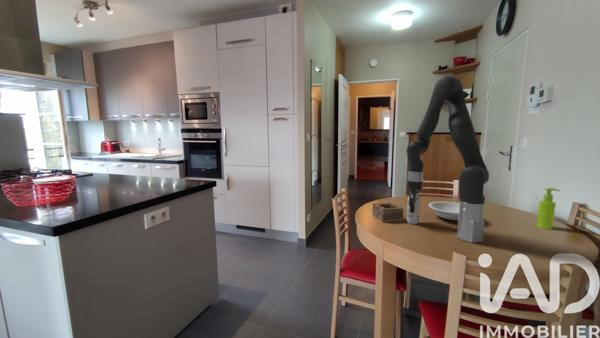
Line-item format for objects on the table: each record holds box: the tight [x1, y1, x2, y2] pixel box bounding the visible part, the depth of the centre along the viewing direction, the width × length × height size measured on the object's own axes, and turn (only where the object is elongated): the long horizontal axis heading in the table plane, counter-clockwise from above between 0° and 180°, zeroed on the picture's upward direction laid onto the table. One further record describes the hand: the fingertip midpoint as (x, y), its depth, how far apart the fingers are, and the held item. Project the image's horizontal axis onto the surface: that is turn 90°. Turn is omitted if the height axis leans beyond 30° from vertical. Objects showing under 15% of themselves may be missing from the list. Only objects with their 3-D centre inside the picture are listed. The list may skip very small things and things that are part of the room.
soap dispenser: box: [536, 187, 560, 230], centre depth 133 cm, size 6×7×20 cm
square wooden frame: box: [371, 202, 404, 223], centre depth 149 cm, size 12×12×7 cm
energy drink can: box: [406, 194, 421, 225], centre depth 140 cm, size 6×6×15 cm
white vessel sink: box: [428, 201, 460, 221], centre depth 148 cm, size 24×24×7 cm
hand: (413, 210), depth 140 cm, fingers closed on energy drink can, 6 cm apart
